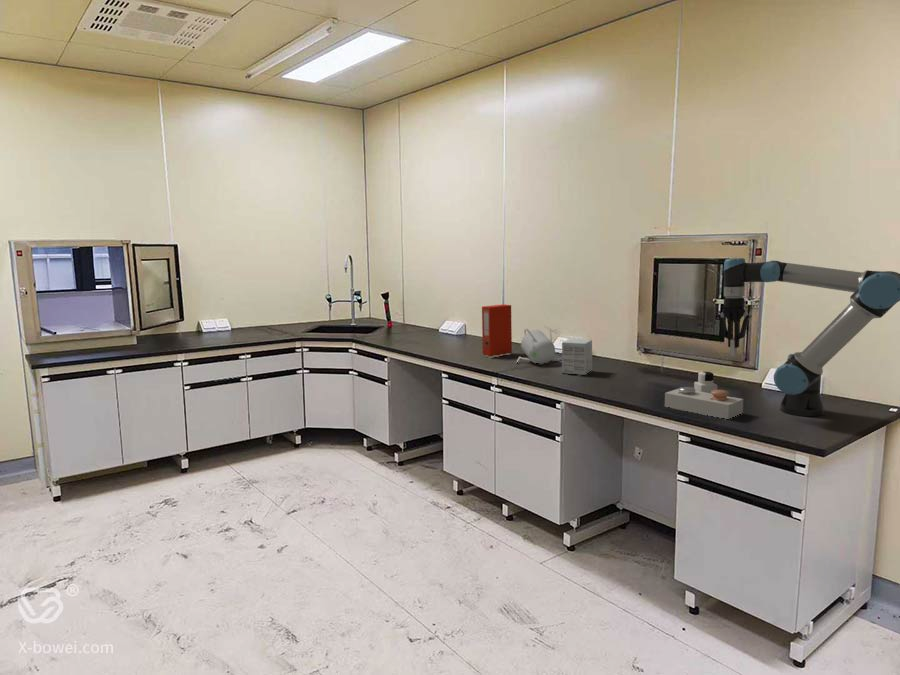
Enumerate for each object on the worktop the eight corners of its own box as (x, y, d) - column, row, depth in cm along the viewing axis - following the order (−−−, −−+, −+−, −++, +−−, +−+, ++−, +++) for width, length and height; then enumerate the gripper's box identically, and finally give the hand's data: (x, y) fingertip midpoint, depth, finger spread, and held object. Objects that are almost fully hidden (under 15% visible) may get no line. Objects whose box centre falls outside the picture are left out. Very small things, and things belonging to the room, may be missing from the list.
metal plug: (697, 405, 248) (698, 388, 247) (689, 408, 244) (690, 391, 243) (683, 403, 253) (684, 386, 252) (675, 406, 249) (675, 388, 248)
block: (742, 413, 237) (743, 399, 236) (727, 419, 229) (728, 404, 228) (680, 401, 258) (680, 387, 257) (664, 406, 250) (665, 392, 249)
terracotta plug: (731, 409, 237) (731, 391, 236) (723, 413, 233) (723, 394, 232) (715, 406, 242) (716, 389, 241) (707, 409, 238) (708, 391, 237)
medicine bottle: (709, 396, 264) (710, 370, 262) (717, 400, 257) (718, 373, 255) (693, 397, 264) (694, 370, 262) (700, 401, 257) (701, 374, 255)
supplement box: (568, 369, 330) (568, 338, 327) (592, 371, 324) (592, 339, 321) (561, 374, 319) (561, 342, 316) (585, 376, 312) (585, 343, 310)
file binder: (512, 355, 378) (511, 305, 373) (490, 358, 369) (489, 307, 364) (504, 353, 385) (503, 304, 380) (482, 356, 376) (481, 306, 371)
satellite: (533, 339, 330) (571, 339, 340) (518, 322, 346) (555, 322, 355) (523, 374, 340) (560, 372, 350) (509, 355, 356) (545, 354, 366)
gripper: (713, 297, 239) (713, 355, 242) (747, 298, 230) (746, 358, 233) (721, 296, 244) (721, 352, 247) (754, 296, 235) (754, 355, 238)
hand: (733, 355), depth 240 cm, fingers closed
